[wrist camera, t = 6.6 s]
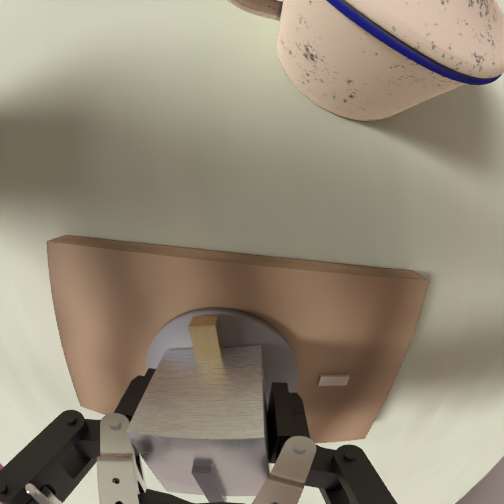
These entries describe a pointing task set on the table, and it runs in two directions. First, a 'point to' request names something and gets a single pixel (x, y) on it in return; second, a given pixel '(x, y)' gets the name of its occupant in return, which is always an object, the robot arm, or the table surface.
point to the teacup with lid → (384, 50)
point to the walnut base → (235, 322)
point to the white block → (206, 418)
